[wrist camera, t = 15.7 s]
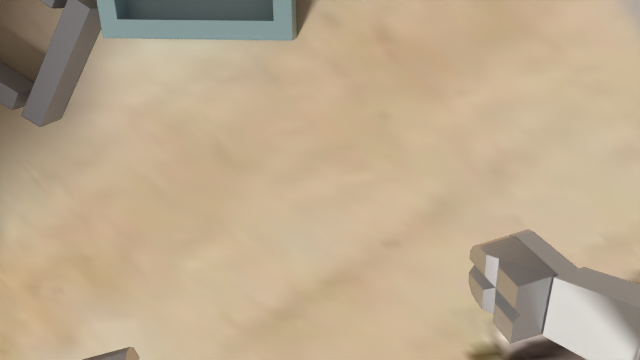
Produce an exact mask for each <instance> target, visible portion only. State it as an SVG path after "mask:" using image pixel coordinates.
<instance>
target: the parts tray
mask: <svg viewBox="0 0 640 360" xmlns="http://www.w3.org/2000/svg"><path fill="white" fill-rule="evenodd" d="M97 5H98V11H99V16H100V22H101V28H102V34H103V38H142V39H216V40H291V41H292V40H294V39H296V38H297V2H296V0H97Z"/></svg>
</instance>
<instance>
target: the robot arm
mask: <svg viewBox="0 0 640 360" xmlns="http://www.w3.org/2000/svg"><path fill="white" fill-rule="evenodd" d="M470 260H471V261H472V262H473V263H474V264H475V265H474V266H473V268H472V269H471V270H470V272H469V285H470V289H471V292H472V295H473V297H474V298H475V300H476V302H477V303H478V304H479V306H480V307H481V308H482V309H483V310H486V311H488V312H490V313H492V314H493V323H494V324H495V326H496V327H497V328H498V329H499V330H500V332H501V333H502V334H503V335H504V336H505V338H506V339H507V340H508V341H509V343H510V344H511V343H514V342H517V341H520V340H524V339H527V338H530V337H533V336H537V335H540V334H543V336H544V337H546V338H548V339H550V340H552V341H554V342H555V343H557V344H559V345H561V346H563V347H565V348H566V349H568V350H570V351H572V352H574V353H576V354H577V355H579V356H581V357H583V358H585V359H587V360H640V285H639V284H636V283H633V282H630V281H627V280H623V279H620V278H617V277H614V276H611V275H608V274H605V273H601V272H598V271H595V270H592V269H589V268H586V267H584V268H580V269H579V268H577V267H576V266H575V265H574V264H573V263H571V262H570V261H569V260H568V259H566V258H565V257H564V256H563V255H562V254H560V253H559V252H558V251H557V250H555V249H554V248H553V247H552V246H551V245H549V244H548V243H547V242H546V241H544V240H543V239H542V238H541V237H540V236H538V235H537V234H536V233H535V232H533V231H531V230H524V231H521V232H518V233H515V234H511V235H509V236H505V237H502V238H498V239H495V240H492V241H488V242H485V243H482V244H479V245H475V246H473V247H472V249H471V251H470ZM83 360H139V356H138V354H137V352H136V351H135V349H134V347H128V348H124V349H120V350H116V351H113V352H109V353H105V354H102V355H98V356H94V357H90V358H87V359H83Z"/></svg>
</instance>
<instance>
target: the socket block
mask: <svg viewBox="0 0 640 360" xmlns="http://www.w3.org/2000/svg"><path fill="white" fill-rule="evenodd" d="M40 1H41V2H43V3H44V4H46V5H47V6H49V7H50V8H64V10H63V13H62V15H61V18H60V20H59V23H58V25H57V28H56V30H55V33H54V35H53V38H52V40H51V43H50V45H49V48H48V50H47V53H46V55H45V58H44V60H43V63H42V65H41V68H40V70H39V73H38V75H37V78H36V80H35V83H34V82H32V81H31V80H29V79H27V78H26V77H24V76H23V75H21V74H19V73H18V72H16V71H15V70H13V69H12V68H10V67H8V66H7V65H5V64H4V63H2V62H0V103H1V104H3V105H5V106H6V107H8V108H10V109H11V110H13V109H17V108H20V107H23V106H25V108H24V110H23V113H22V115H21V116H23V117H24V118H26V119H27V120H29V121H31V122H32V123H34V124H36V125H37V126H39V127H42V126H44V125H47V124H49V123H52V122H54V121H57V120H59V119H61V118H62V115H63V113H64V111H65V108H66V106H67V104H68V102H69V99H70V97H71V95H72V93H73V90H74V88H75V86H76V84H77V81H78V79H79V77H80V75H81V72H82V70H83V68H84V66H85V63H86V61H87V59H88V56H89V54H90V52H91V50H92V47H93V45H94V43H95V41H96V38H97V36H98V34H99V32H100V29H101V22H100V16H99V11H98V5H97V0H40Z"/></svg>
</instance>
